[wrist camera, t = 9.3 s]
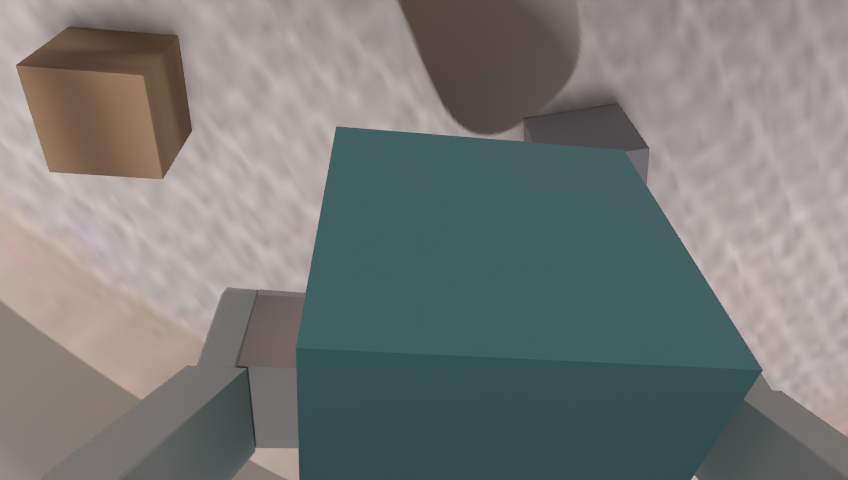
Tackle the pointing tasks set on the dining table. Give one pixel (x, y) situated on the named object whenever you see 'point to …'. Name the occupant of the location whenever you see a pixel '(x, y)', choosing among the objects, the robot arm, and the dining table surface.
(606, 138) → the charcoal cube
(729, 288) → the dining table surface
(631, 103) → the dining table surface
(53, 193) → the dining table surface
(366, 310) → the teal cube
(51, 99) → the walnut cube
